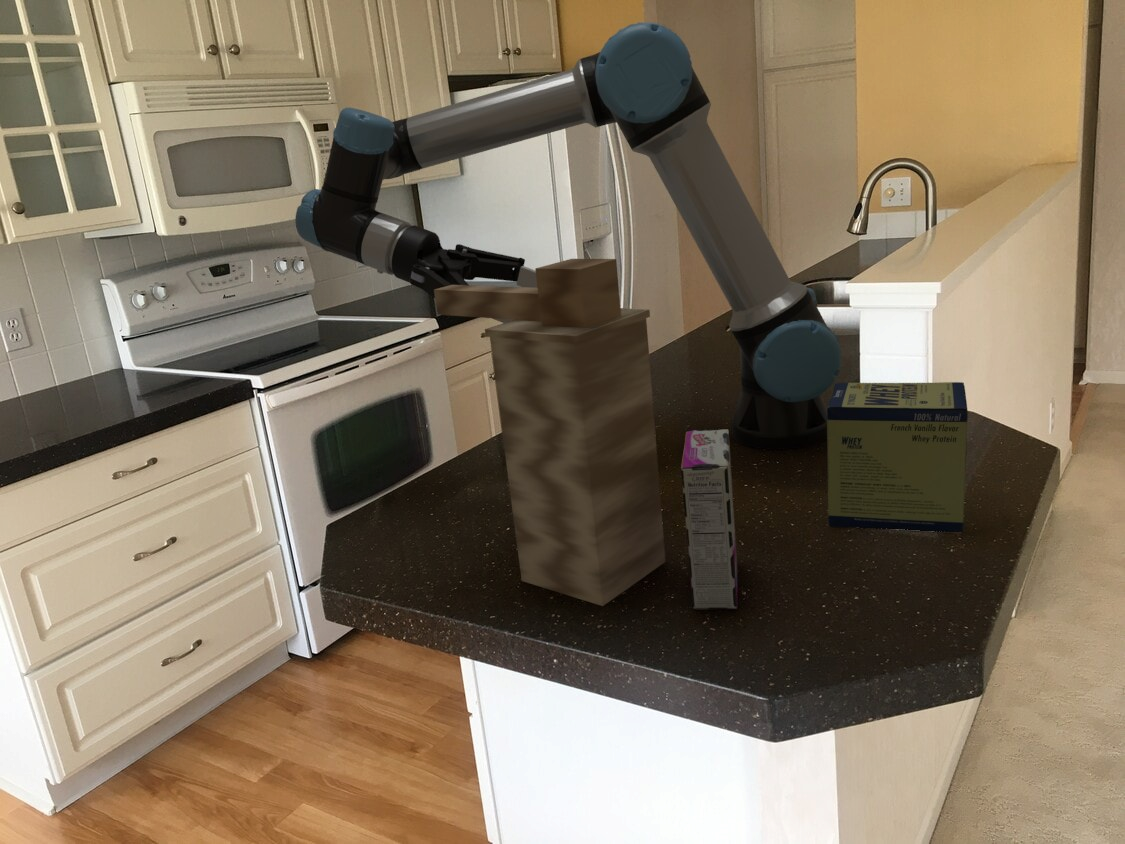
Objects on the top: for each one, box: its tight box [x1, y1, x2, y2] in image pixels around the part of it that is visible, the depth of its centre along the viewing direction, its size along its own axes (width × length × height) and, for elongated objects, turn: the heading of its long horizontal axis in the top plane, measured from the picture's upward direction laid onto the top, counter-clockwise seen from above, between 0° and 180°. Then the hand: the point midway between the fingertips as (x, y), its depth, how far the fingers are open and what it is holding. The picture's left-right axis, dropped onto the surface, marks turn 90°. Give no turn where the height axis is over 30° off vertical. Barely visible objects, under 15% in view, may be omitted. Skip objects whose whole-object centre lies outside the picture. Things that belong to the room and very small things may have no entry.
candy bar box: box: [680, 428, 738, 611], centre depth 100 cm, size 11×5×16 cm, turn 170°
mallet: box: [434, 258, 622, 328], centre depth 103 cm, size 24×6×6 cm, turn 50°
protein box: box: [826, 381, 969, 533], centre depth 113 cm, size 10×16×16 cm
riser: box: [484, 307, 666, 607], centre depth 104 cm, size 13×13×30 cm
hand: (544, 304), depth 123 cm, fingers open, 13 cm apart
